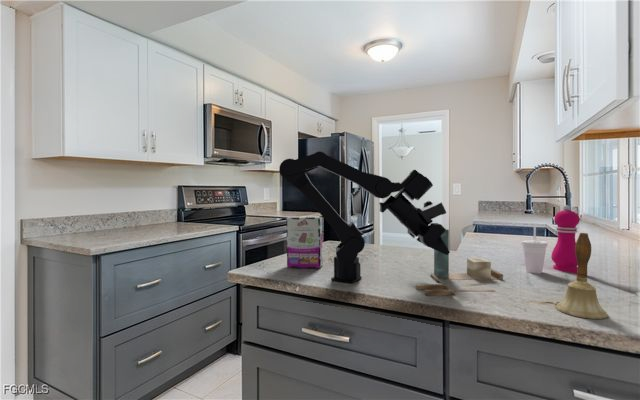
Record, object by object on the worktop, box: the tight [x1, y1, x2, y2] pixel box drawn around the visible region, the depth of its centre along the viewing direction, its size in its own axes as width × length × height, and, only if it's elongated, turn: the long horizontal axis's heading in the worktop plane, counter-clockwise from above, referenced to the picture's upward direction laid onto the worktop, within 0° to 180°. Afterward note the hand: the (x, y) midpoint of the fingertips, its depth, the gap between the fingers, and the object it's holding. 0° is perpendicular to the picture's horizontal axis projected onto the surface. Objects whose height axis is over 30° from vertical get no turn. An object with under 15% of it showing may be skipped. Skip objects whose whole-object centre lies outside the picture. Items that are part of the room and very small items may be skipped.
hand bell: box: [555, 232, 609, 320], centre depth 67 cm, size 8×8×16 cm
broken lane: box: [415, 282, 496, 297], centre depth 82 cm, size 18×7×1 cm, turn 87°
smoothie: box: [521, 226, 548, 274], centre depth 96 cm, size 6×6×14 cm
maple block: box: [466, 257, 492, 279], centre depth 91 cm, size 4×4×4 cm
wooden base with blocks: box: [430, 228, 504, 284], centre depth 91 cm, size 17×6×14 cm, turn 87°
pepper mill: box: [550, 204, 580, 275], centre depth 99 cm, size 7×7×20 cm
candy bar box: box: [285, 215, 324, 269], centre depth 109 cm, size 11×5×16 cm, turn 80°
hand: (446, 252), depth 92 cm, fingers closed on wooden base with blocks, 3 cm apart
